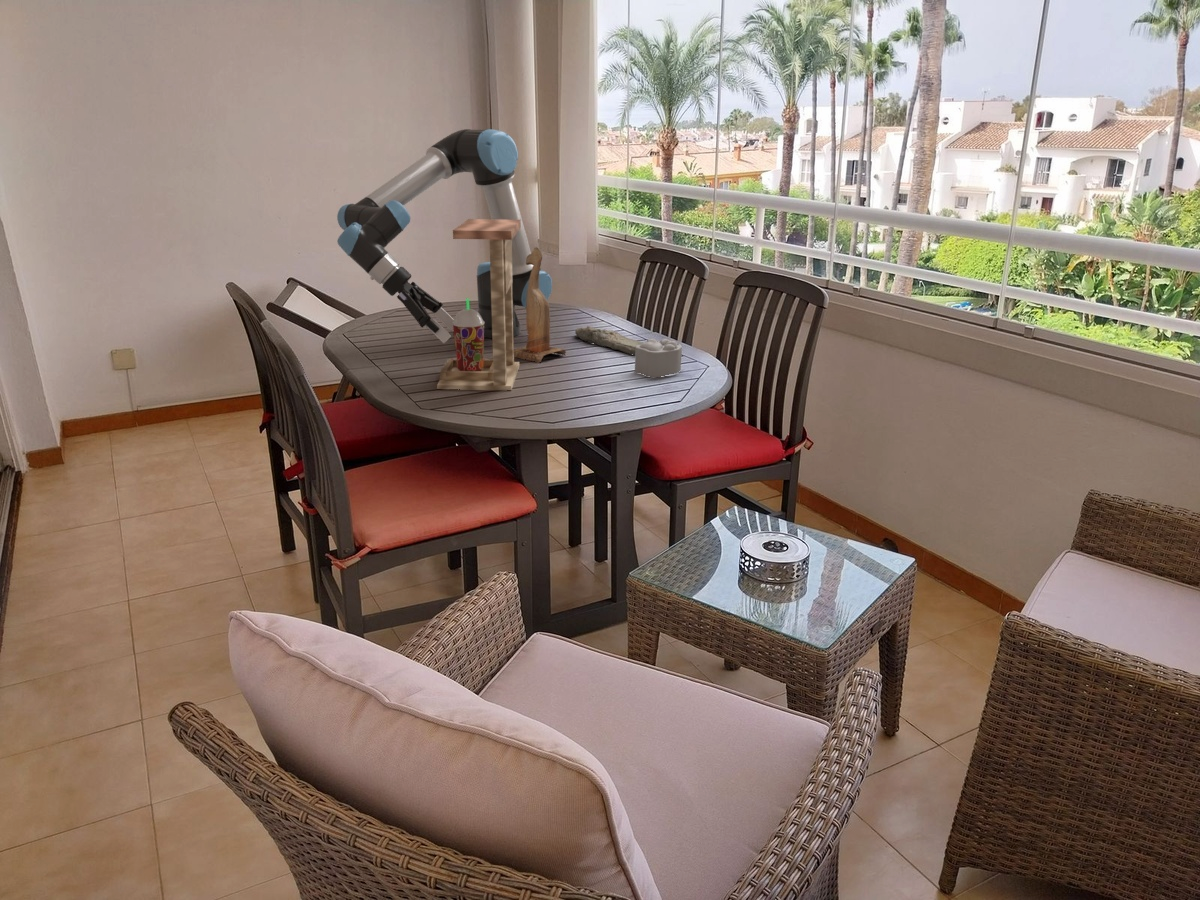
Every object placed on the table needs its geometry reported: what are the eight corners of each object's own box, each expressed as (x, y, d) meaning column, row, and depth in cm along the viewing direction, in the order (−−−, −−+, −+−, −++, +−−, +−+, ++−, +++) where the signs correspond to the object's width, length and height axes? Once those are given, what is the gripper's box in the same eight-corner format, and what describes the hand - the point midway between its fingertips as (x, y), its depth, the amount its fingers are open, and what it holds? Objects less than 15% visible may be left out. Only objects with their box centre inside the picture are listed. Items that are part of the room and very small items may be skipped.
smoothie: (480, 377, 228) (477, 302, 221) (450, 375, 230) (446, 300, 223) (490, 369, 236) (488, 296, 229) (461, 367, 238) (458, 294, 230)
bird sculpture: (536, 351, 262) (531, 243, 251) (566, 356, 256) (563, 245, 245) (511, 358, 254) (506, 247, 243) (543, 364, 247) (538, 249, 236)
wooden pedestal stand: (436, 390, 221) (427, 229, 207) (452, 364, 245) (445, 218, 231) (514, 391, 221) (511, 231, 207) (523, 365, 246) (520, 219, 231)
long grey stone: (640, 365, 253) (664, 361, 260) (642, 347, 251) (666, 344, 258) (565, 336, 277) (589, 334, 284) (567, 320, 275) (591, 318, 282)
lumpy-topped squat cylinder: (630, 371, 242) (630, 340, 239) (665, 364, 249) (666, 334, 246) (653, 379, 234) (655, 348, 231) (689, 372, 241) (691, 341, 238)
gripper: (391, 277, 236) (449, 332, 241) (369, 294, 213) (434, 355, 218) (410, 258, 234) (467, 314, 240) (390, 272, 211) (454, 334, 216)
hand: (451, 333), depth 229 cm, fingers open, 13 cm apart
